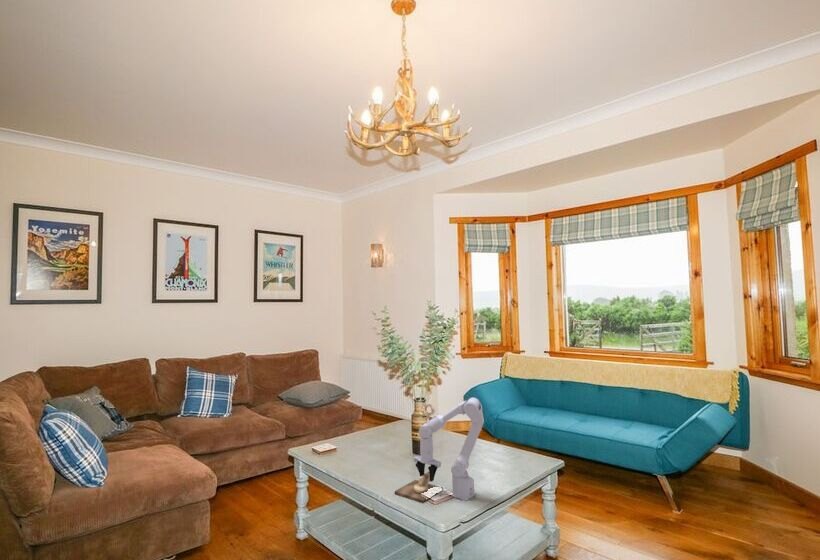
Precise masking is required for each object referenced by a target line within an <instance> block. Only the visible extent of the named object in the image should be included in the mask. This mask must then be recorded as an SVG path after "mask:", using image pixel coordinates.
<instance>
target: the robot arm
mask: <svg viewBox="0 0 820 560" xmlns="http://www.w3.org/2000/svg"><path fill="white" fill-rule="evenodd" d="M458 415H463V416H464V415H466V416H467V417H468V418H469V419H470V421H471V426H470V429H469V431H468V433H467V434H466V435H467V436H466V438H465V440H464V443H463V445H462V448H461V451H460V453H459V455H458V457H457V458H456V460H455V461H454V463H453V464H452V466H451V468H450V469H451V471H450V472H451V474H452V476H451V477H452V480H451V481H452V484H451V485H452V491H451V492H452V493H453V495H454V497H453V498H456V499H460V500H463V501H468V500H470V499H471V498H473V496H475V495H476V493H475V479H474V478H473V477H472V476H470V475H469V473H468V472H469V471H467V470H468V468H469V461H470V458H471V455H472V452H473V450H474V447H475V445H476V443H477V440H478V437H479V435H480V434H481V433H480V432H481V430H482V428H483V426H484V424H485V419H484V413H483V406H482V403H481V402H480V400H479V399H478V398H476V397H473V396H472V397H470V398H468V399H467V400H464V401H462V402H460V403H459V404H456V405H455V406H453V408H451V409H450V410H448V411H447V412H445V413H444V414H438V415H437V414H435V415H434V416H433V418H432V419H430V420H426V421H425V423H423V425H422V426H420V428H419V430H418V434H419V436H420V455H419V456H418V455H417V456H416V455H415V456H413V458H412V459H413V462H416V463H415V467H416V469H417V471H418V473H419V477H420V476H422V475H424V474H425V471H426V470H425V468H426V465H429V466H428V467H427V469H428V472H429V473H430V482H434V480H435V476H436V472H437V470H438V468H441V467H442V461H438V460H436V459H435V458H434V454H433V453H434V452H433V451H434V447H433V446H434V441H433V434H434V433H437V432H438V431H440V430H441V429H442V428H444V427H446V425H447V422H448V421H449V420H451V419H453V418H455V417H457V416H458Z"/></svg>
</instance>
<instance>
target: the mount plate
mask: <svg viewBox="0 0 820 560" xmlns="http://www.w3.org/2000/svg"><path fill="white" fill-rule="evenodd" d="M417 483H419V479H414V480H412V481H409V483H407V484H405V485H403V486H402V487H400V488H398V489H396V490H395V491H394V495H396V496H398V497H400V496H401V497H403V498H404V499H405V498H406V499H409V500H412V501H415V502H418V503H422V504H425V502H427V501H426V498H424V497H422V496H421V495H420V494H417V493H415V492H414V485H415V484H417ZM427 485H428V489H430V488H433V487H441V488H443V487H442V486H438V485H436V484H432V483H430V482H428V483H427ZM443 489H444V488H443Z"/></svg>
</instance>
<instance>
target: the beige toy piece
mask: <svg viewBox="0 0 820 560" xmlns="http://www.w3.org/2000/svg"><path fill="white" fill-rule="evenodd" d="M418 481H419V483H417V484H415V485H414V492H415V493H417V494H421V493H424V492H427V491H428V485H427V483H430V482H431V481H430V473H429V471H427V472H424V475H422V476H420V475H419V477H418Z"/></svg>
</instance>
